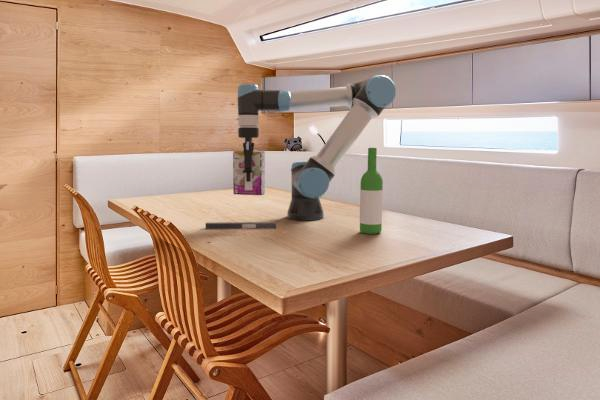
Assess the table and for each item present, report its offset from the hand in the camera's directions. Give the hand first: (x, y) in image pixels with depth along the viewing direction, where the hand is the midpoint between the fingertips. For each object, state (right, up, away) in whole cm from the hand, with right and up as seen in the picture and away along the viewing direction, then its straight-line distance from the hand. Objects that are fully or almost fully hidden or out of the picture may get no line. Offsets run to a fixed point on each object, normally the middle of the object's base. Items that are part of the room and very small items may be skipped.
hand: (249, 188), depth 176 cm
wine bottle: (+44, -16, -10) cm, 48 cm away
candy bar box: (0, -2, 0) cm, 2 cm away
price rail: (-3, -15, -3) cm, 15 cm away
